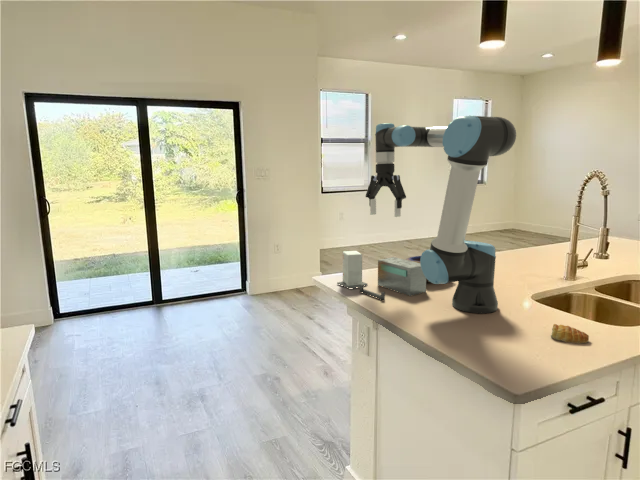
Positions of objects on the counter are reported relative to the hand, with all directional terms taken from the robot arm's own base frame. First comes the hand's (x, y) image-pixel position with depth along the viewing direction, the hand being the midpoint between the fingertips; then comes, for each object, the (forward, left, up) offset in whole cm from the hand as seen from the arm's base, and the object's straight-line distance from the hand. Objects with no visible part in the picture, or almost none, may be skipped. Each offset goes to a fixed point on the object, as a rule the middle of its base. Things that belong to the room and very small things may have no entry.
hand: (385, 215), depth 174 cm
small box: (+6, +12, -28) cm, 31 cm away
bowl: (-7, -19, -29) cm, 35 cm away
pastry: (-73, -2, -30) cm, 79 cm away
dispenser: (-10, +6, -29) cm, 31 cm away
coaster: (+6, +12, -29) cm, 32 cm away
